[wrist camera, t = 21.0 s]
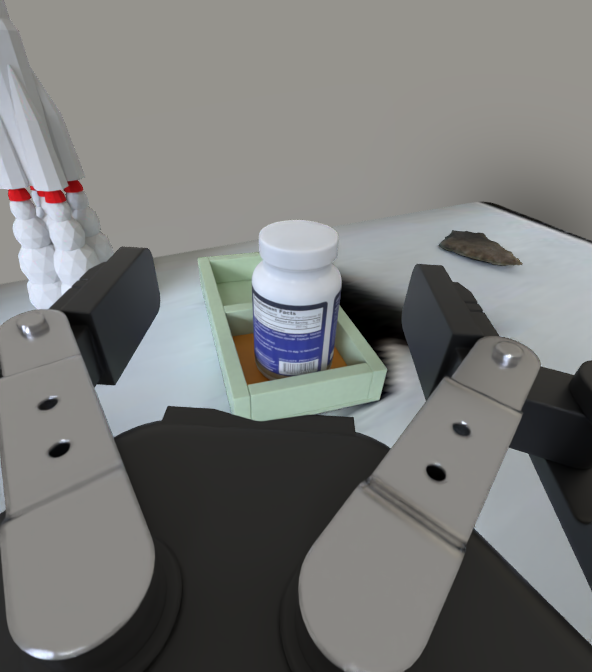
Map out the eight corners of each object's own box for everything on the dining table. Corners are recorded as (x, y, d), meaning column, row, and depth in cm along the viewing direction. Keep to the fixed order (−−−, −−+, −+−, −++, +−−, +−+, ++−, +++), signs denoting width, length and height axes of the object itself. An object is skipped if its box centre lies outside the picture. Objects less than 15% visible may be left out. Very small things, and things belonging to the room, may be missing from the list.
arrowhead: (515, 277, 42) (520, 265, 41) (432, 249, 47) (435, 238, 46) (532, 257, 46) (537, 247, 46) (455, 234, 51) (458, 224, 50)
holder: (236, 431, 23) (233, 399, 22) (200, 284, 38) (197, 257, 36) (379, 400, 26) (387, 369, 24) (295, 273, 40) (297, 248, 39)
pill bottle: (288, 329, 31) (292, 209, 25) (346, 360, 28) (367, 232, 22) (237, 364, 27) (229, 232, 21) (299, 402, 25) (309, 264, 19)
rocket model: (56, 347, 29) (-299, -468, 11) (28, 307, 33) (-262, -332, 15) (147, 313, 33) (1, -316, 15) (112, 281, 37) (-34, -242, 19)
